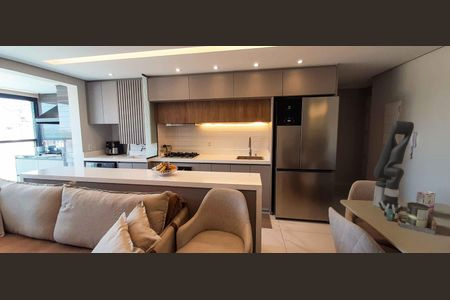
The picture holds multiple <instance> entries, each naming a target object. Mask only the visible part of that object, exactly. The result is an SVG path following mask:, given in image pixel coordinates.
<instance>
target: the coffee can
mask: <svg viewBox="0 0 450 300" xmlns="http://www.w3.org/2000/svg"><path fill="white" fill-rule="evenodd" d="M406 207H407V208H406V214H405V215H406V219H405V224H409V225H414V226H419V227H423V228H427V227H428V225H427V219H428V212H429V207H428V206H426V205H424V204H420V203H416V202H413V201H412V202H407V206H406Z"/></svg>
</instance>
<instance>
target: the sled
mask: <svg viewBox="0 0 450 300" xmlns="http://www.w3.org/2000/svg"><path fill="white" fill-rule="evenodd" d="M392 216H393V210H392V209H391V208H388V209H387V217H385V219H386V220H387V221H396V222H397V224H398V226H400V223H403V224H406V222H405V223H404V222H401V220H400V219H404V220H406V216H402V215H397V213H395V217H394V218H392ZM408 225H409V224H408ZM412 226H414V225H412ZM417 227H419V226H417ZM427 227H428V228H426V229H431V230H435V232H436V230H437V221H436V220H435V219H434V217H433V216H432V214H430V213H428V219H427ZM422 228H423V227H422Z"/></svg>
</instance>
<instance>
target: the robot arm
mask: <svg viewBox="0 0 450 300" xmlns="http://www.w3.org/2000/svg"><path fill="white" fill-rule="evenodd" d="M414 129H415V123H414V122H412V121H405V120H395V121H394V122H393V123H392V124H391V127H390V131H389V134H388V138H387V140H386V143H385V145H384V147H383V148H382V149H383V150H382V153H381V154H380V158H379V160H378V162H377V163H376V166H375V168H374V170H373V177H374V178H377V179H380V180H378V181H375V184H374V187H375V188H374V194H373V202H372V203H373V204H372V205H373V206H375V207H377V208H380V210H381V211H383V216H384V217H385V218H386V217H387V209H388V208H391V209H392V210H393V216H392V218H396V214H398V213H399V214H400V213H401V211H402V210H403V208H404V207H403V206H404V205H401V204H399V193H400V191H399V190H400V189H399V188H400V182H401V181H402V178H403V177H404V175H405V171H404V169H403V168H401V167H396V165H402V164H403V162H404V157H405V153H406V150H407V148H408V145H409V142H410V140H411V137H412V135H413V132H414ZM396 135H403V138H402V140H401V141H400V142H397V140H396ZM392 178H394V179H392ZM395 208H397V209H395Z"/></svg>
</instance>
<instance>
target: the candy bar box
mask: <svg viewBox="0 0 450 300" xmlns="http://www.w3.org/2000/svg"><path fill="white" fill-rule="evenodd" d="M435 201H436V192H432V191H429V190H428V191H418V192H417V193H416V200H415V203H420V204H424V205H426V206H428V207H429V212H428V213H430V214H431V215H432V214H434V208H435Z"/></svg>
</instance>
